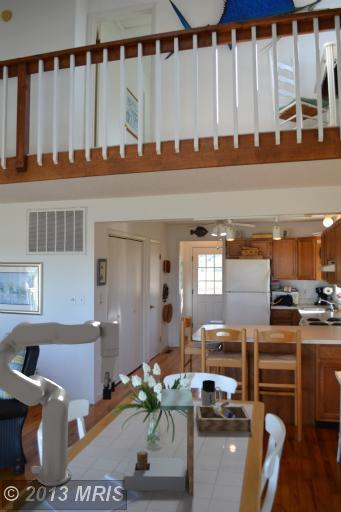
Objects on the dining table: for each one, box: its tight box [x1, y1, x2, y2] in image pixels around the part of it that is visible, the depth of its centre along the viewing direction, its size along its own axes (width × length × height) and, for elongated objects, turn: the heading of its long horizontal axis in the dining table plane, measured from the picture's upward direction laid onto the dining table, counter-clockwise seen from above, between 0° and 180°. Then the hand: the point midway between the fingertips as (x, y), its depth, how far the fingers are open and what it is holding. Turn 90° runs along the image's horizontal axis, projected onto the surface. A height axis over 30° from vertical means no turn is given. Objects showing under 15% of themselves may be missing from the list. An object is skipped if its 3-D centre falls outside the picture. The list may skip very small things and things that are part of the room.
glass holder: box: [201, 379, 222, 406], centre depth 228 cm, size 9×14×15 cm, turn 38°
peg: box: [136, 450, 149, 470], centre depth 149 cm, size 4×4×10 cm
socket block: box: [124, 457, 186, 492], centre depth 149 cm, size 22×14×5 cm, turn 90°
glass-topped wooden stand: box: [160, 388, 195, 496], centre depth 150 cm, size 12×20×32 cm, turn 0°
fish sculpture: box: [211, 401, 236, 418], centre depth 204 cm, size 12×20×15 cm
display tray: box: [195, 405, 252, 433], centre depth 205 cm, size 26×20×6 cm
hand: (108, 395), depth 155 cm, fingers open, 9 cm apart
